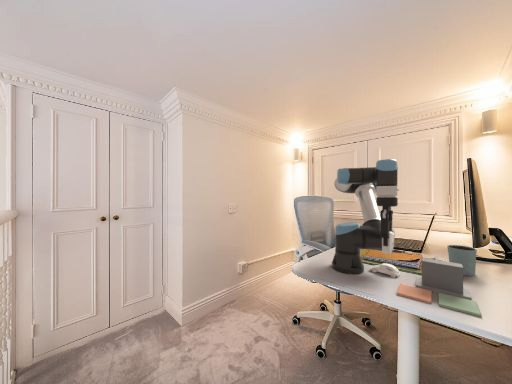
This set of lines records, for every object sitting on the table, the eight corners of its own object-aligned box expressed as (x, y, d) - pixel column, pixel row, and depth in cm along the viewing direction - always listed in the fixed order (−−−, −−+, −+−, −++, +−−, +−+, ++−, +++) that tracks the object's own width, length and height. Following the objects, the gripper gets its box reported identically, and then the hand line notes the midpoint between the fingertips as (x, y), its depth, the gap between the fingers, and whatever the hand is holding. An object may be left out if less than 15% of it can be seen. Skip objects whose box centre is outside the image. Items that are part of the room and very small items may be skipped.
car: (401, 274, 98) (400, 265, 98) (398, 279, 93) (398, 268, 93) (372, 268, 106) (372, 259, 106) (369, 272, 101) (369, 262, 101)
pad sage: (439, 305, 71) (439, 303, 71) (438, 294, 78) (438, 292, 78) (481, 317, 64) (481, 314, 64) (476, 303, 72) (476, 301, 72)
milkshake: (380, 250, 89) (380, 227, 89) (395, 252, 86) (395, 228, 86) (378, 252, 86) (378, 229, 86) (393, 255, 83) (393, 230, 82)
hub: (415, 287, 84) (415, 260, 84) (416, 280, 90) (416, 255, 90) (471, 300, 74) (471, 270, 74) (468, 292, 80) (468, 264, 80)
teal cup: (475, 278, 92) (475, 251, 92) (445, 271, 100) (445, 247, 100) (477, 272, 99) (477, 247, 99) (449, 266, 107) (449, 243, 107)
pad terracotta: (397, 294, 79) (397, 292, 79) (400, 285, 86) (400, 283, 86) (431, 303, 72) (431, 301, 72) (431, 292, 80) (431, 290, 80)
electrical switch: (446, 283, 87) (443, 261, 88) (430, 281, 91) (428, 260, 91) (444, 276, 95) (441, 256, 95) (430, 274, 98) (427, 255, 99)
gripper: (394, 197, 77) (394, 259, 77) (400, 196, 90) (400, 249, 90) (371, 197, 82) (372, 255, 82) (380, 195, 95) (380, 246, 95)
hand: (387, 252), depth 86 cm, fingers closed on milkshake, 4 cm apart
